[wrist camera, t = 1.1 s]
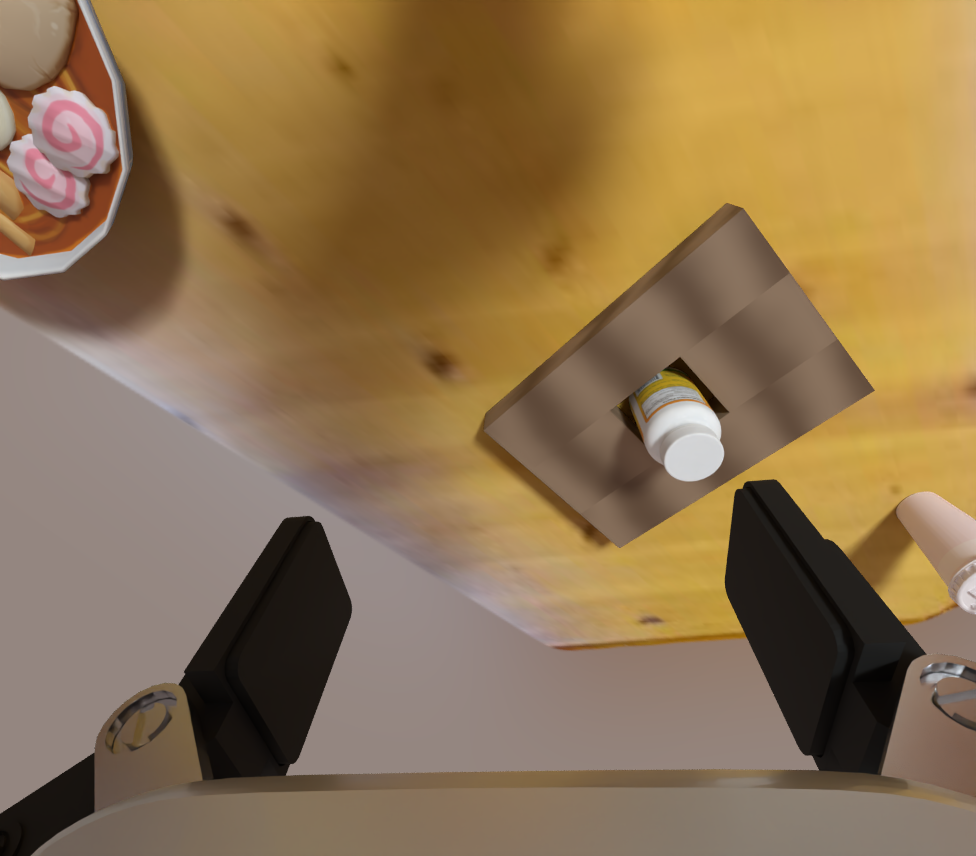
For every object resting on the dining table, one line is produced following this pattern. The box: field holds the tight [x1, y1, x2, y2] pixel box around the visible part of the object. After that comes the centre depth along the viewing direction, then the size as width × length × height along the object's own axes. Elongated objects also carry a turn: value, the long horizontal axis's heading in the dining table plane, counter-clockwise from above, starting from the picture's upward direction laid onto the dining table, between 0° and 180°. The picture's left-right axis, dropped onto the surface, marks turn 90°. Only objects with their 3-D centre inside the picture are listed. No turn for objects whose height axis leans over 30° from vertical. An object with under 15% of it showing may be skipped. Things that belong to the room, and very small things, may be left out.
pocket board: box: [484, 203, 875, 548], centre depth 41 cm, size 24×18×3 cm
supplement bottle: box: [629, 367, 724, 481], centre depth 38 cm, size 5×5×10 cm
